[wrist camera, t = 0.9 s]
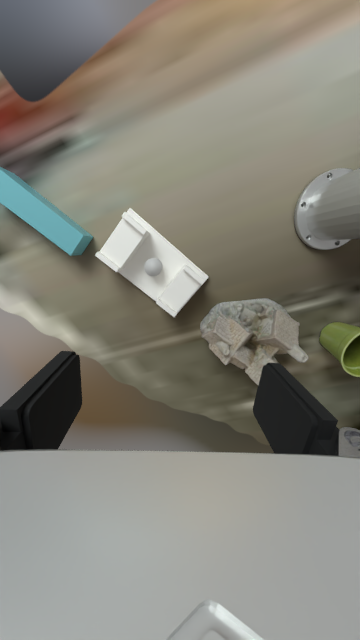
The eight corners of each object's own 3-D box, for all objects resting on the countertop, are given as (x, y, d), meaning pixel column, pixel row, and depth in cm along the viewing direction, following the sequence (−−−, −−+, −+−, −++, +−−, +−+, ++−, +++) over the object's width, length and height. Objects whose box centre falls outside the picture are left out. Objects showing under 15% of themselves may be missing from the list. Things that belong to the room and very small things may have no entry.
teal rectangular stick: (15, 174, 34) (-8, 163, 30) (93, 237, 38) (83, 235, 33) (4, 195, 35) (-20, 187, 31) (82, 254, 39) (70, 255, 34)
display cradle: (130, 208, 36) (122, 201, 30) (208, 276, 40) (213, 280, 34) (98, 255, 38) (85, 256, 33) (174, 314, 42) (174, 325, 37)
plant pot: (340, 304, 43) (380, 317, 34) (363, 334, 45) (405, 353, 37) (302, 335, 45) (331, 354, 36) (326, 362, 47) (358, 386, 39)
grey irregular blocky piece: (298, 325, 44) (351, 359, 29) (237, 372, 48) (257, 422, 33) (251, 270, 41) (283, 279, 27) (190, 325, 45) (190, 358, 31)
